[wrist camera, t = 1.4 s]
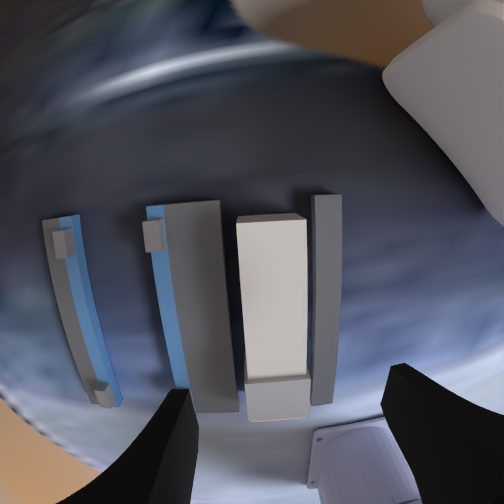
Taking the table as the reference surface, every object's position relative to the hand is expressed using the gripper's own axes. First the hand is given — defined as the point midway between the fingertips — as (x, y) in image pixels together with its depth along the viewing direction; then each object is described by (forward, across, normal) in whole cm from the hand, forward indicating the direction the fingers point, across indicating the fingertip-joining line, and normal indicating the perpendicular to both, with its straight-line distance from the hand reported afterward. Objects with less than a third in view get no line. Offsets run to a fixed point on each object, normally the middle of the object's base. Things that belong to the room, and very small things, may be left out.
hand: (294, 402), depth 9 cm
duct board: (+9, +5, +1) cm, 10 cm away
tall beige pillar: (+9, 0, +1) cm, 9 cm away
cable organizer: (+9, -15, -12) cm, 22 cm away
